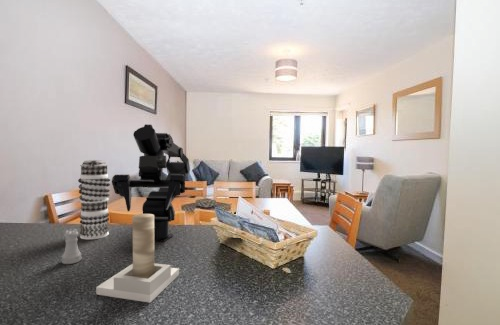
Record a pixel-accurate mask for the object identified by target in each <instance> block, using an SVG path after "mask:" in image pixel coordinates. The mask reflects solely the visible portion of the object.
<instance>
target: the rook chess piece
mask: <svg viewBox="0 0 500 325" xmlns="http://www.w3.org/2000/svg"><path fill="white" fill-rule="evenodd" d="M64 232H65V233H64V234H63V236H64V238H65V241H64V242H65V249H64V252H63V254H62V255H61V261H60V262H61V263H62V264H63V265H73V264H76V263H78V262H80V261H81V260H82V258H83V257H82V252H80V249H79V247H78V240H79V239H78V235H79V234H80V232H78V229H76V228H73V230H72V229H69V230H68V229H67V230H65V231H64Z"/></svg>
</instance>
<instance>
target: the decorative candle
mask: <svg viewBox="0 0 500 325" xmlns="http://www.w3.org/2000/svg"><path fill="white" fill-rule="evenodd" d="M77 181H78V183H80V184H79V185H78V188H79V190H78V193H79V194H80V196H78V198H79V202H80V203H81V207H80V208H81V210H80V215H79V219H80V221H79V223H80V226H79V229H80V231H79V234H80V236H79V238H80V239H81V240H97V239H103V238H105V237H108V236H109V234H110V233H109V231H110V227H109V226H110V223H109V222H108V221H110V218H109V216H110V213H109V208H108V201H109V200H110V198H109V197H110V194H109V192H110V191H111V190H110V188H109V187H110V186H111V183H109V182H110V181H111V179H110V178H109V173H108V164H107V163H106V162H105V160H99V159H96V160H95V159H93V160H92V159H89V160H88V159H87V160H84V161H83V162H82V164H80V178H79V179H78V180H77ZM108 188H109V189H108Z"/></svg>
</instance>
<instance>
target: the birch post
mask: <svg viewBox="0 0 500 325" xmlns="http://www.w3.org/2000/svg"><path fill="white" fill-rule="evenodd" d="M154 263H155V241H154V215H153V214H143V213H140V214H139V213H138V214H134V215H133V216H132V264H133V277H139V278H147V279H148V278H150V277H151V276H152V275H153V274H154Z"/></svg>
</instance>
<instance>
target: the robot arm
mask: <svg viewBox="0 0 500 325" xmlns="http://www.w3.org/2000/svg"><path fill="white" fill-rule="evenodd" d="M143 125H144V126H142V127H139V128H137V129H136V130H134V131H133V138H134V140H135V142H136V144H137V147H138V149H139V153H141V154H143V155H140V156H139V159H138V177H140V178H131V177H130V174H114V175H113V176H112V179H111V184H112V186H113V187H112V188H113V191H114V194H116V195H119V197H123V198H124V200H125V206H126V209H127V212H130V210H131V206H132V205H131V204H132V188H148V189H149V188H150V189H151V188H153V189H154V188H159V189H158V190H157V191H156V190H154V191H151V190H150V192H149V193H148V196H147V197H146V198H145V201H144V202H143V204H142V209H141V210H142V214H153V215H154V242H160V243H164V242H166V241H167V240H170V238H172V237H174V235H173V234H171V233H170V230H169V229H170V225H169V224H170V222H173V221H175V218H176V212H175V209H174V206H173V201H174V200H175V199H176V198H177V196H180V195H181V194H185V192H186V178H187V176H189V174H190V172H191V168H190V166H191V164H190V160H189V158H188V157H187V155H186V154H185V153H184V149H183V147H181V146H179V145H177V144H176V143H174V140H173V137H172V136H171V134H170V133H167V132H156V130H155V129H154V128H153V125H152V124H146V123H145V124H143ZM167 157H168V158H167ZM171 158H179V159H180V160H181V161H170V160H171ZM163 169H166V170H167V171H166V172H167V175H166V178H165V179H163V172H164V171H163Z"/></svg>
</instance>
